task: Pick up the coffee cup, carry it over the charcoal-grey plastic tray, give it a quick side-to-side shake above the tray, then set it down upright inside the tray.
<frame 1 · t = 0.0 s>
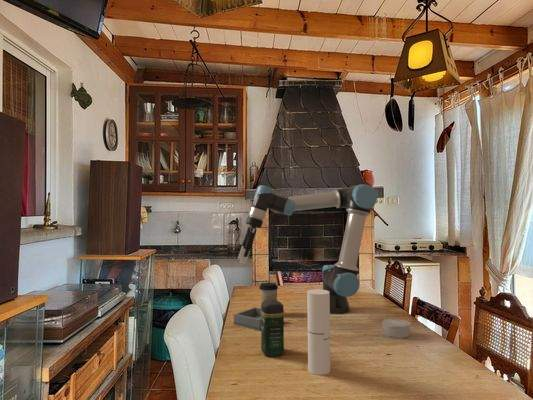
hand: (241, 261, 169), 28 cm above the table, tool tilted 20°, fingers open, 13 cm apart
coffee jar: (272, 352, 133), on the table
cylindrical container: (319, 370, 117), on the table
tray: (257, 323, 167), on the table
coffee cup: (268, 315, 180), on the table
ramekin: (396, 335, 150), on the table
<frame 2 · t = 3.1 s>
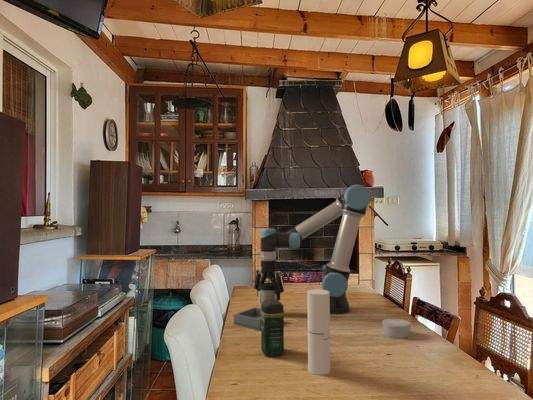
hand: (268, 305, 180), 5 cm above the table, tool pointing down, fingers closed on coffee cup, 9 cm apart
coffee cup: (268, 315, 180), on the table, touching gripper
everything else where it was.
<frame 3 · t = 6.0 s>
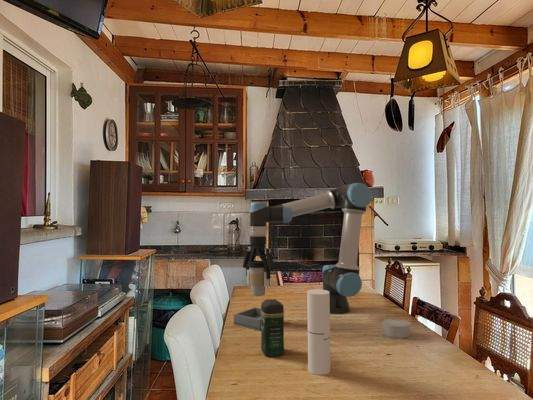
hand: (258, 284, 167), 18 cm above the table, tool pointing down, fingers closed on coffee cup, 9 cm apart
coffee cup: (258, 295, 167), point 13 cm above the table, touching gripper
everything else where it was.
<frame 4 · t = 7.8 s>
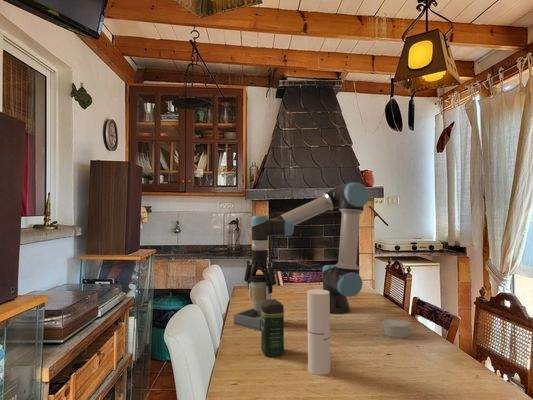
hand: (259, 298, 166), 11 cm above the table, tool pointing down, fingers closed on coffee cup, 9 cm apart
coffee cup: (259, 309, 166), point 7 cm above the table, touching gripper
everything else where it was.
when the fingers open (6 cm above the table, at t = 9.2 s): coffee cup stays where it is, resting on tray.
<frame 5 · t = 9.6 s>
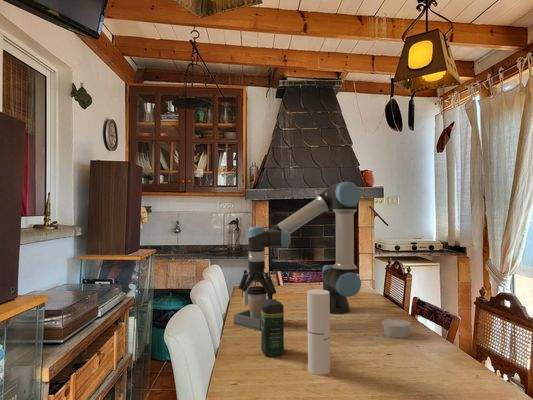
hand: (257, 307, 167), 7 cm above the table, tool pointing down, fingers open, 13 cm apart
coffee cup: (257, 321, 167), point 1 cm above the table, touching tray
everything else where it was.
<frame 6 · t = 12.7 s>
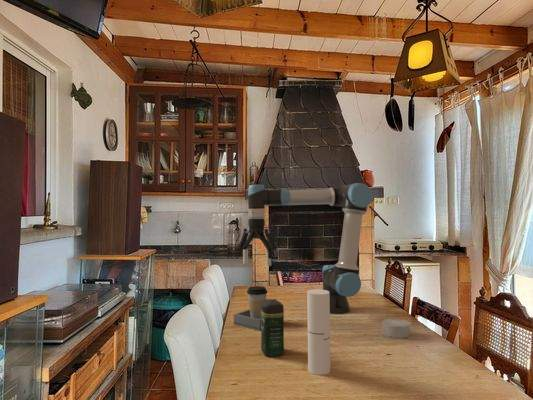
hand: (257, 264, 168), 27 cm above the table, tool pointing down, fingers open, 13 cm apart
nothing on the table moved.
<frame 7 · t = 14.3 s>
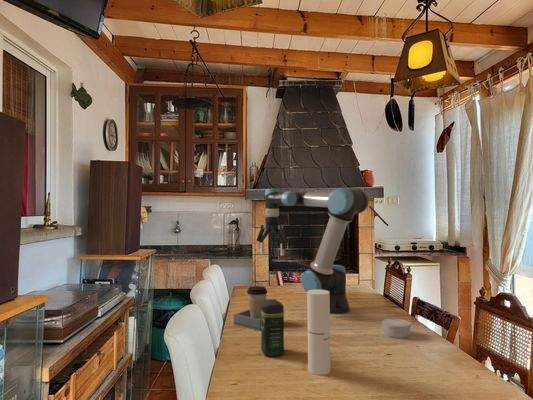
hand: (272, 254, 203), 27 cm above the table, tool pointing down, fingers open, 13 cm apart
nothing on the table moved.
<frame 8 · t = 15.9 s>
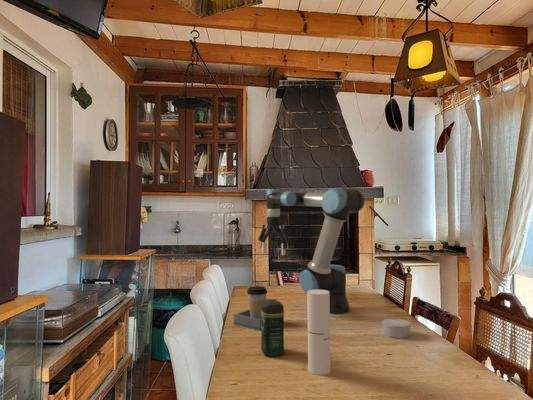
hand: (273, 254, 206), 27 cm above the table, tool pointing down, fingers open, 13 cm apart
nothing on the table moved.
at the end: coffee cup 0.1 cm off-centre on the tray, point 0.8 cm above the tray's base; coffee cup tilted 0°; the gripper is holding nothing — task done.
